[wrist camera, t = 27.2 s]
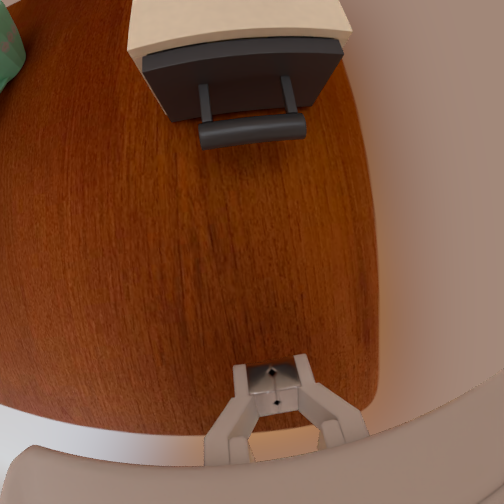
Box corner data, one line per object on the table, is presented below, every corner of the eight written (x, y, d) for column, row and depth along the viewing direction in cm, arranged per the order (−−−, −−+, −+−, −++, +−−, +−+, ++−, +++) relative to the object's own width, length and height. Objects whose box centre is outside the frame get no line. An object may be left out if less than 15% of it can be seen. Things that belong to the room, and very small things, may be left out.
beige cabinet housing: (312, 98, 21) (353, 31, 11) (165, 115, 21) (126, 50, 11) (280, -9, 20) (294, -73, 10) (164, 3, 19) (145, -60, 10)
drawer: (322, 156, 21) (364, 119, 13) (176, 174, 20) (143, 143, 12) (280, -2, 19) (292, -56, 11) (167, 10, 19) (152, -44, 11)
